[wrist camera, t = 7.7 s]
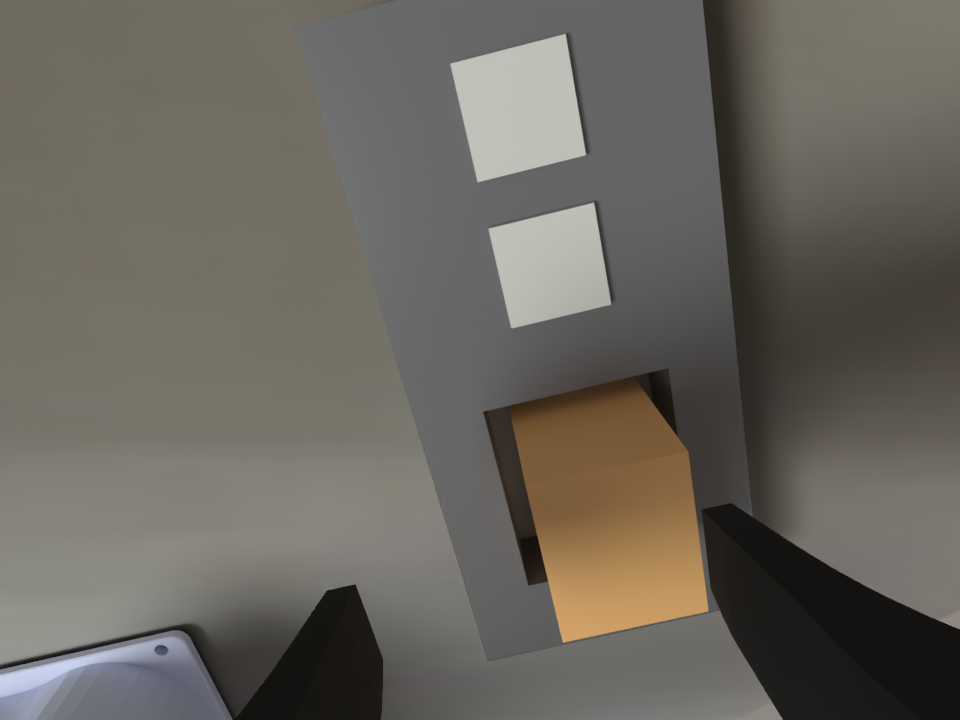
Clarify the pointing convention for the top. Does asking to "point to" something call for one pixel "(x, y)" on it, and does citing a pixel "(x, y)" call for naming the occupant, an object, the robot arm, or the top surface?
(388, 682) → the top surface
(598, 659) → the top surface
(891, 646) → the robot arm
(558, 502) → the plug block
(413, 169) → the power strip
